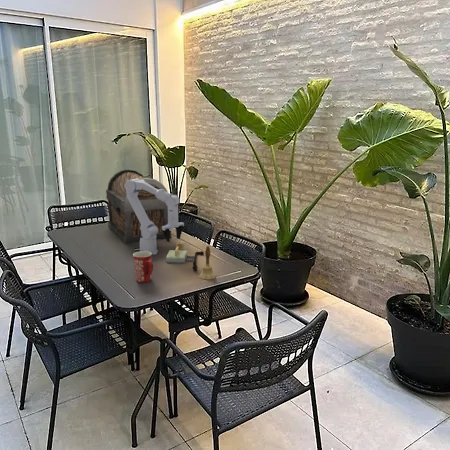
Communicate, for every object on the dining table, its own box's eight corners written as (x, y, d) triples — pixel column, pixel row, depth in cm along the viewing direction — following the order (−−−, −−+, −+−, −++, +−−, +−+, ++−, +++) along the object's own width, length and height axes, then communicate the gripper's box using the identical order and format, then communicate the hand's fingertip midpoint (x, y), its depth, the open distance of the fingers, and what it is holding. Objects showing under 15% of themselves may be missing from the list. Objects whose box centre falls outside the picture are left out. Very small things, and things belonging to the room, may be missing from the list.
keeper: (185, 261, 231) (185, 259, 231) (187, 257, 237) (187, 255, 236) (193, 261, 231) (193, 259, 231) (194, 257, 237) (194, 255, 236)
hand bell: (197, 274, 213) (197, 244, 209) (213, 272, 215) (213, 243, 211) (201, 280, 205) (201, 249, 201) (217, 279, 208) (218, 248, 203)
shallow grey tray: (166, 262, 228) (166, 258, 228) (169, 255, 240) (169, 251, 239) (184, 263, 228) (184, 259, 228) (187, 255, 240) (187, 252, 239)
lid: (166, 258, 228) (166, 252, 227) (169, 251, 239) (169, 245, 238) (184, 259, 227) (184, 252, 226) (187, 251, 239) (187, 245, 238)
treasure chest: (107, 226, 295) (104, 170, 285) (150, 222, 310) (148, 168, 299) (125, 244, 257) (122, 180, 247) (173, 238, 272) (172, 177, 262)
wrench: (204, 257, 244) (202, 273, 214) (195, 257, 244) (192, 273, 214) (203, 248, 243) (201, 263, 213) (194, 249, 243) (191, 263, 213)
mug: (130, 279, 205) (129, 253, 202) (146, 274, 211) (146, 249, 207) (143, 287, 196) (142, 260, 192) (159, 282, 202) (159, 256, 198)
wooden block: (176, 254, 242) (176, 243, 240) (177, 252, 245) (176, 241, 244) (182, 254, 242) (182, 243, 240) (183, 252, 245) (182, 241, 244)
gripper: (167, 220, 226) (167, 244, 229) (187, 216, 236) (187, 239, 239) (159, 218, 230) (159, 241, 234) (179, 213, 240) (179, 236, 244)
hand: (173, 240), depth 237 cm, fingers open, 7 cm apart
